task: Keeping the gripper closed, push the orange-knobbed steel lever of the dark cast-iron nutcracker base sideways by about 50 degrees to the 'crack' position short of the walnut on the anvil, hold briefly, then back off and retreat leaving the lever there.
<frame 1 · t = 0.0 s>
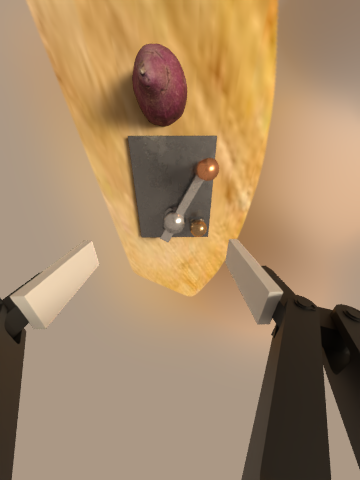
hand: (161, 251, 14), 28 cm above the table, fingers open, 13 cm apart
cracker base: (174, 193, 38), on the table
lever: (184, 205, 34), point 6 cm above the table, hinge at 0.0°
vegetable: (162, 97, 30), on the table
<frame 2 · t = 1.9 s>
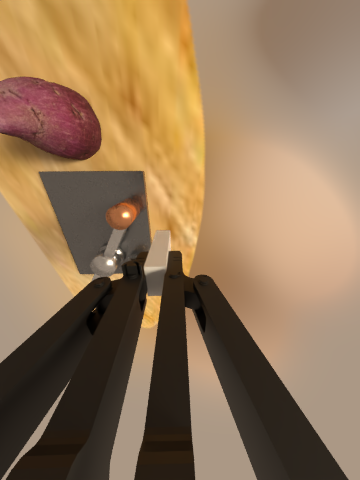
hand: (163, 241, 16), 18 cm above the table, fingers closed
cracker base: (108, 229, 34), on the table
lever: (110, 248, 29), point 6 cm above the table, hinge at 0.0°
vegetable: (73, 128, 26), on the table
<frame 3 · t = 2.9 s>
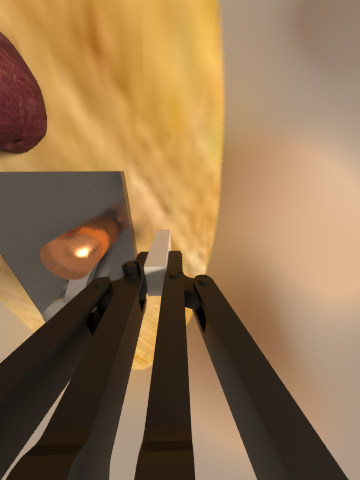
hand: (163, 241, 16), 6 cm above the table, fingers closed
cracker base: (76, 256, 23), on the table
lever: (71, 294, 19), point 6 cm above the table, hinge at 0.0°
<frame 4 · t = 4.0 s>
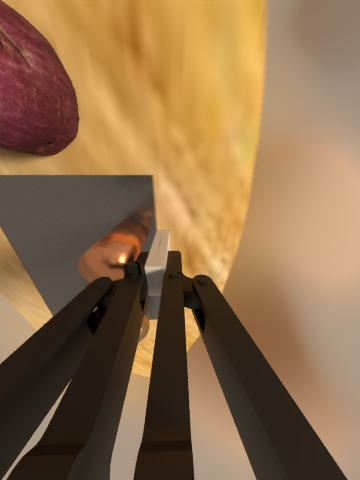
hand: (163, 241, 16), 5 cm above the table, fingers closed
cracker base: (96, 261, 22), on the table
lever: (96, 302, 18), point 6 cm above the table, hinge at 0.4°, touching gripper
vegetable: (27, 97, 14), on the table
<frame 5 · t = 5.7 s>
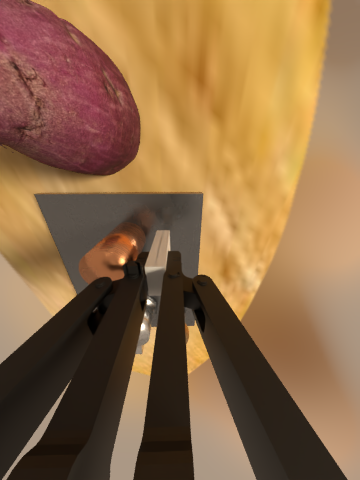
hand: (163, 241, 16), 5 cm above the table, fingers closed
cracker base: (136, 271, 23), on the table
lever: (128, 309, 18), point 6 cm above the table, hinge at 26.5°, touching gripper
vegetable: (93, 123, 15), on the table
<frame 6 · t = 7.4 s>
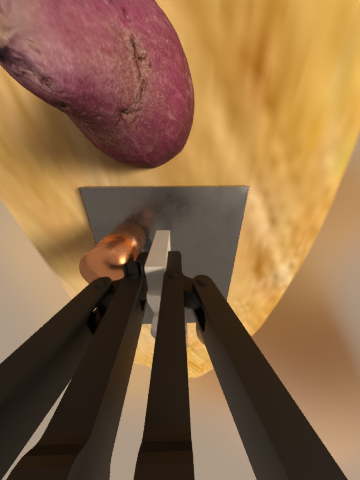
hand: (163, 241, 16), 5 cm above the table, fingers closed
cracker base: (169, 267, 23), on the table
lever: (154, 305, 18), point 6 cm above the table, hinge at 49.0°, touching gripper
vegetable: (143, 115, 15), on the table
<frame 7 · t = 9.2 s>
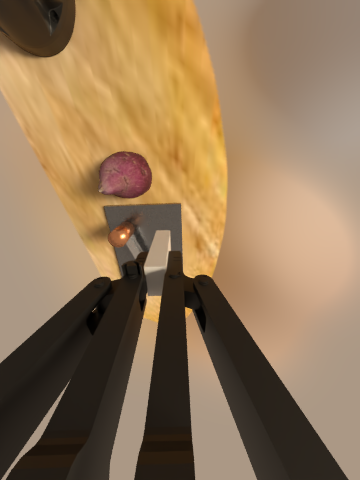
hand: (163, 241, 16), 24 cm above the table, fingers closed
cracker base: (149, 245, 43), on the table
lever: (139, 261, 38), point 6 cm above the table, hinge at 49.1°
vegetable: (131, 175, 35), on the table
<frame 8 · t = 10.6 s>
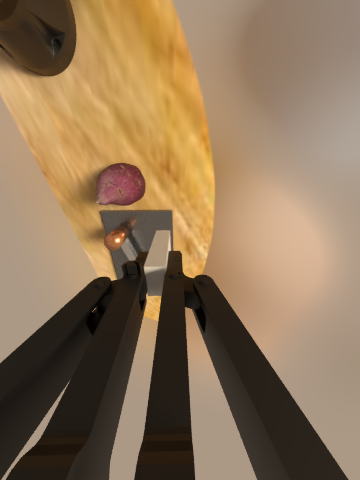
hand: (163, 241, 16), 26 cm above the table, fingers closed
cracker base: (142, 247, 46), on the table
lever: (132, 262, 41), point 6 cm above the table, hinge at 49.1°
vegetable: (126, 184, 38), on the table
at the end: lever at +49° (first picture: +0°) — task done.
